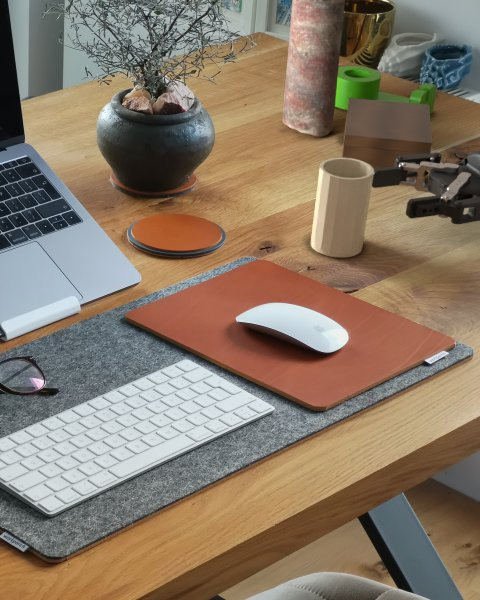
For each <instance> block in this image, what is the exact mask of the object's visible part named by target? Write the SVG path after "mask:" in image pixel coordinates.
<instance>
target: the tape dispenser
mask: <svg viewBox="0 0 480 600" xmlns="http://www.w3.org/2000/svg"><path fill="white" fill-rule="evenodd" d="M381 80H382V73H381V72H379V71H378V70H376V69H373V68H371V67H367V66H361V65H346V66H345V65H344V66H340V67H338V77H337V89H336V100H335V108H338V109H340V110H344V111H347V109H348V101H349V98H355V99H367V100H378V101H390V102H402V103H413V104H425V105H429V108H430V115H432V114H433V111H434V105H435V101H436V95H437V89H438V87H437V85H436V84H433V83H428V82H424V83H422V84H420V86H419V89H418V88H415V89H414V90H413V91H412V92H411V94H410V96H409V97H406V96H402V95H397V94H392V93H388V92H382V91H380V86H381Z"/></svg>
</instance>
